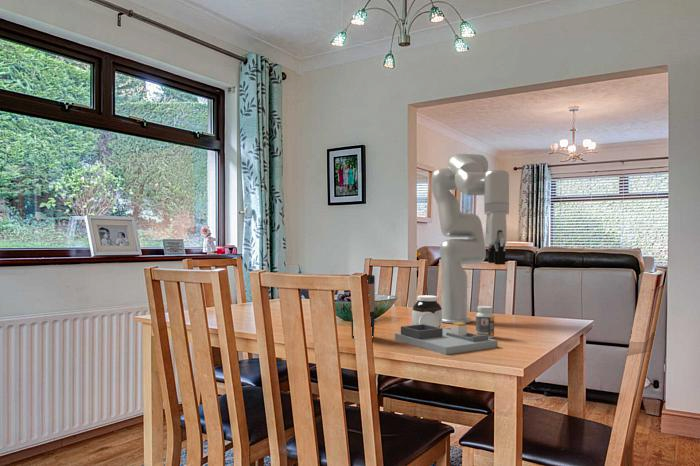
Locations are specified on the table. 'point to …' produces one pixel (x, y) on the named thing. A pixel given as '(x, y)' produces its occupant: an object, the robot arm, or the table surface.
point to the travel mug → (371, 301)
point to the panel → (443, 339)
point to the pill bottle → (485, 321)
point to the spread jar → (427, 311)
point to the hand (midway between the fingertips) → (496, 263)
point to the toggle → (459, 329)
